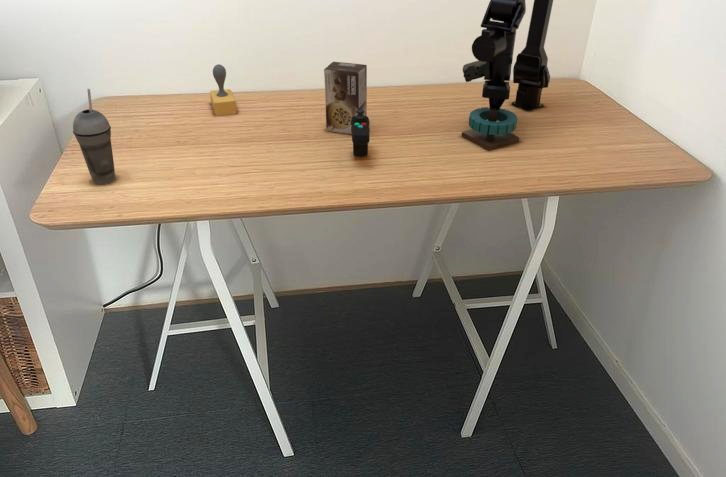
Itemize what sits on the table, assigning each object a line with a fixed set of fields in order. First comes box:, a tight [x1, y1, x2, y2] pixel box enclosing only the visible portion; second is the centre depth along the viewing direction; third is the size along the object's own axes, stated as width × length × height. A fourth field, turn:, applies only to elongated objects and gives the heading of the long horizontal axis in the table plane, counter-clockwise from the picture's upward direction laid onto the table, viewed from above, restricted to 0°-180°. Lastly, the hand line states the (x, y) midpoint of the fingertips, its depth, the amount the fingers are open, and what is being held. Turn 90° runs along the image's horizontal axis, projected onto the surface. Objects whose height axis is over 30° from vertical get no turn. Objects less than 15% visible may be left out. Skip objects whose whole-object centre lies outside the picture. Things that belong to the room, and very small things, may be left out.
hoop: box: [468, 106, 519, 135], centre depth 150 cm, size 11×11×2 cm
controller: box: [350, 109, 371, 158], centre depth 141 cm, size 4×12×10 cm, turn 1°
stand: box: [460, 108, 521, 151], centre depth 151 cm, size 10×10×8 cm
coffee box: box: [323, 61, 368, 135], centre depth 153 cm, size 9×6×16 cm
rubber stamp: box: [209, 63, 238, 116], centre depth 166 cm, size 10×6×12 cm, turn 18°
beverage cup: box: [72, 88, 116, 186], centre depth 127 cm, size 7×7×20 cm
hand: (492, 114), depth 154 cm, fingers closed on hoop, 2 cm apart
